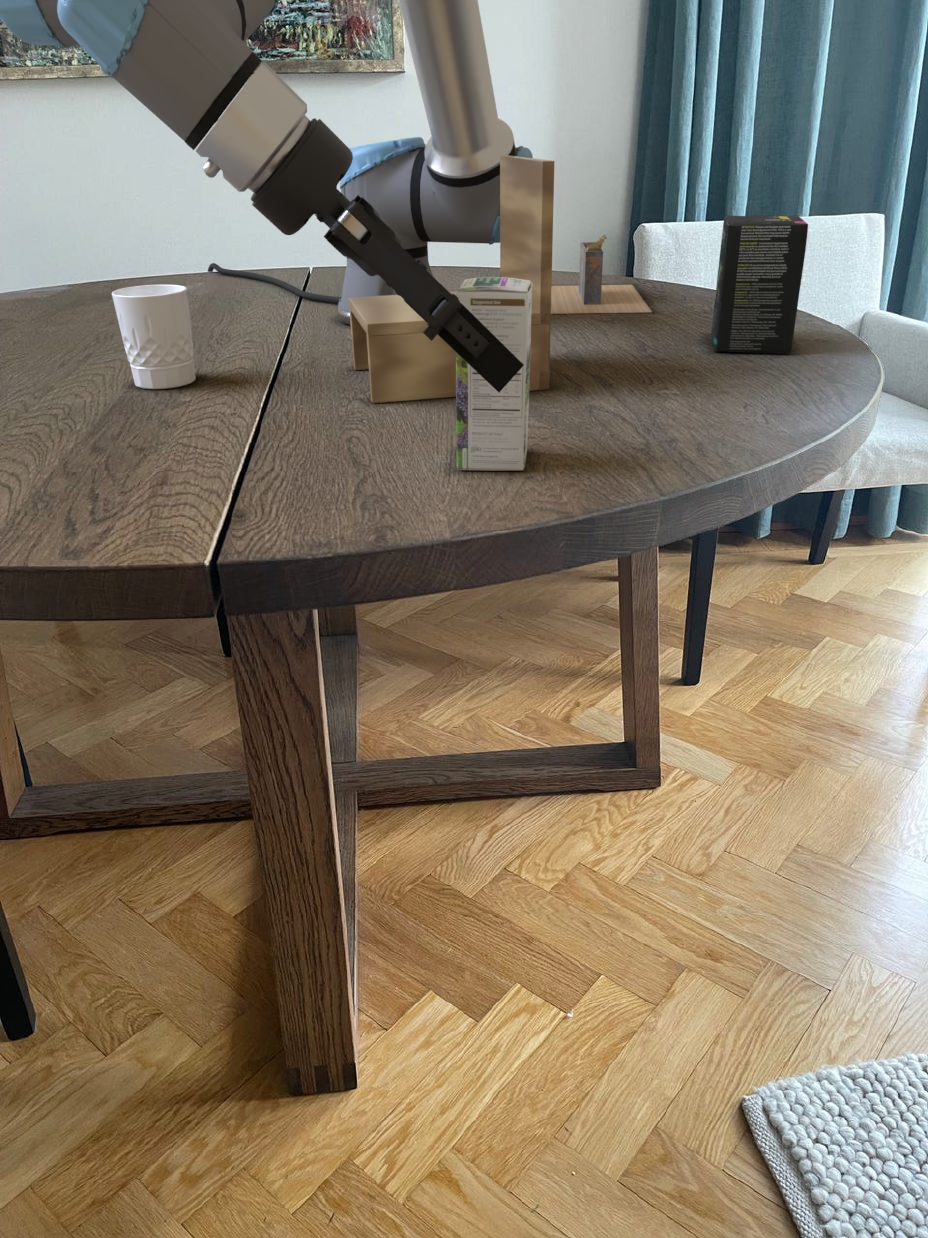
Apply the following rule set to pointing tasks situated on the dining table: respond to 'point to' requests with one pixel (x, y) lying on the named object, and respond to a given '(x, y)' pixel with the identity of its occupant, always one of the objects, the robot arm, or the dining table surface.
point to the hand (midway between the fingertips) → (488, 358)
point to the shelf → (395, 330)
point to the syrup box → (482, 413)
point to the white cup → (156, 334)
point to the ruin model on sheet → (595, 289)
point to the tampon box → (758, 283)
